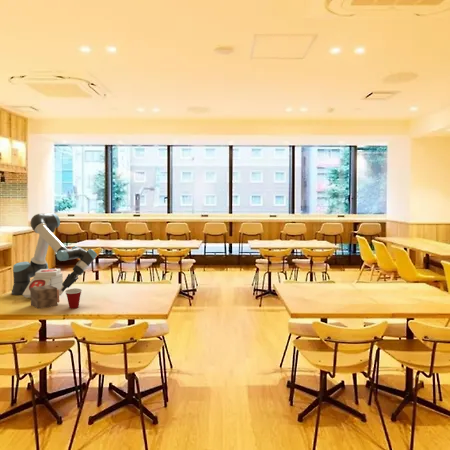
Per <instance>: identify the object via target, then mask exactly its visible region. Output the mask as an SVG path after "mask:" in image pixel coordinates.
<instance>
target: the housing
mask: <svg viewBox="0 0 450 450" xmlns="http://www.w3.org/2000/svg"><path fill="white" fill-rule="evenodd" d="M30 293H31V298H30V305H31V306H32V307H34V308H35V309H37V310H40V309H45V308H49V307H50V308H51V306H52V307H56V306H58V303H57V288H56V287H53V286H51V285H45V286H39V287H32V288H30Z"/></svg>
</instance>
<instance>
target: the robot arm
mask: <svg viewBox="0 0 450 450" xmlns="http://www.w3.org/2000/svg"><path fill="white" fill-rule="evenodd" d="M30 226H31V229H32V230H33V231H34V233H35V234H39V235H38V239H37V243H36V248H35V250H34V255H33V257H32V258H31V259H30V261H20V262H17V263H14V264H13V266H12V272H13V273H12V274H13V285H12V289H11V295H13V296H14V295H16V296H18V295H19V296H21V295H22V296H23V293H24V291H25V289H26V288H27V286H28V284H29V283H30V281H31V279H32V278H33V276H35V273H36V272H37V271H39V270H40V269H49V266H48V265H49V264H48V261H47V260H46V258H47V254H48V250H49V247H50V248H51V249H52V250H53V251H54V252H55V253H56V256H55V257H56V259H57V260H59V261H60V262H62V261H63V262H65V261H69V260H75V259H79V260H78V262H76V264H75V265H74V267H73V268H72V272H71V273H68V275H67V276H66V278H65V279H64V280H63V283H62V287H61V288H60V290H59V296H62V294H63V293H65V291H66V290H67V289H69V288H70V287H71V286H72V285H74V283H75V282H76V281H77V280H79V276H81V275H83V274H84V271H86V270H87V269H88V267H89V266H90V265H91V264H92V262H94V260H95V259H96V257H97V256H98V253H97V252H96V251H95V250H94V249H92V248H89V249H88V250H86V249H84V248H82V247H81V246H77V245H74V246H73V247H71V248H67V247H66V246H65V245H64V243H63V242H61V240H60V239H59V238H58V237H57V236H56V235H55V234H54V233H55V231H56V229H57V228H59V227H60V226H61V219H60V217H59V215H58V214H56V213H53V212H47V213H37V214H34V215H33V216H32V217H31V219H30Z"/></svg>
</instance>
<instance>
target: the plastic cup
mask: <svg viewBox="0 0 450 450" xmlns="http://www.w3.org/2000/svg"><path fill="white" fill-rule="evenodd" d="M82 291H83V290H82V289H81V288H70V289H69V288H67V289H65V290H64V293H65V295H66V297H67V303H68V306H69V309H70V308H71V310H72V309H78V308H79V306H80V301H81V300H80V299H81V295H82Z"/></svg>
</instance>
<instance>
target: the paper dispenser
mask: <svg viewBox="0 0 450 450" xmlns="http://www.w3.org/2000/svg"><path fill="white" fill-rule="evenodd" d="M63 282H64V280H63V272H61V268H48V269H40V270H39V271H37V272H36V273H35V276H33V277H32V278H30V283H29V284H28V286H27V288H26V289H25V291H24V293H23V295H22V297H24V298H29V299H31V293H30V288H32V287H39V286H45V285H51V286H53V287H56V288H57V289H59V290H60V288H61V287H62V283H63Z"/></svg>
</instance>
